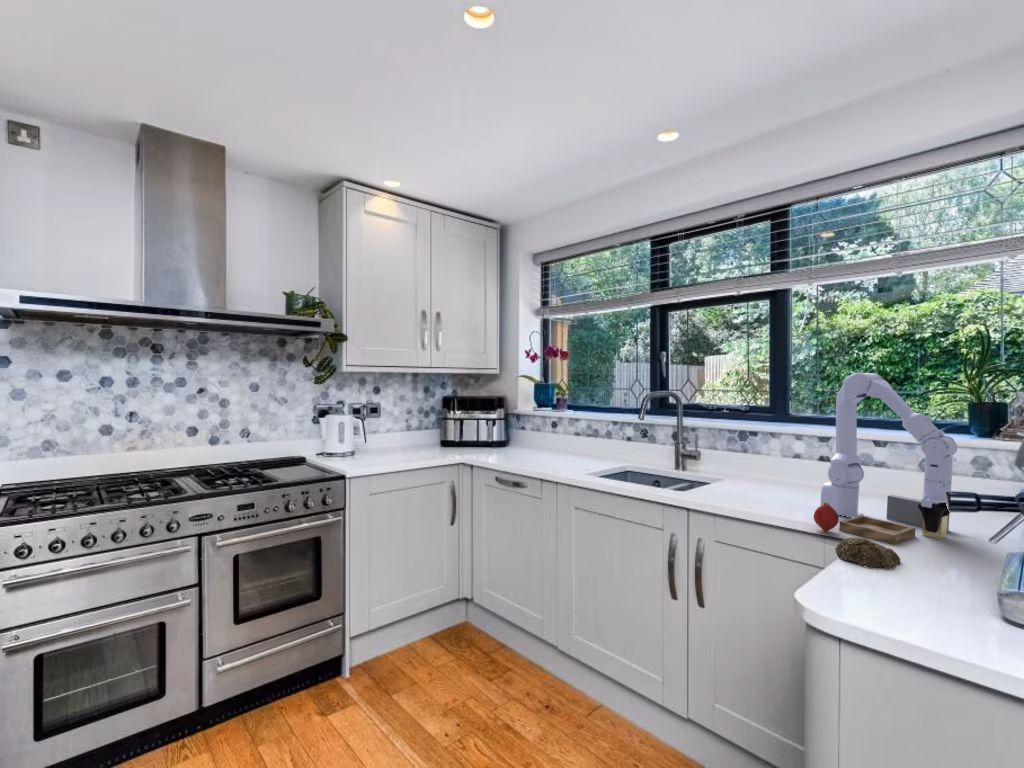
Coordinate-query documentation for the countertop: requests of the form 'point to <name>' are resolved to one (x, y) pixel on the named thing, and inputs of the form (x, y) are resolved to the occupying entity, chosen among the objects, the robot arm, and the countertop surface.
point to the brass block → (941, 529)
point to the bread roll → (867, 553)
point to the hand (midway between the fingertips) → (934, 530)
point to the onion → (826, 517)
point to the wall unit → (905, 510)
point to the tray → (877, 529)
